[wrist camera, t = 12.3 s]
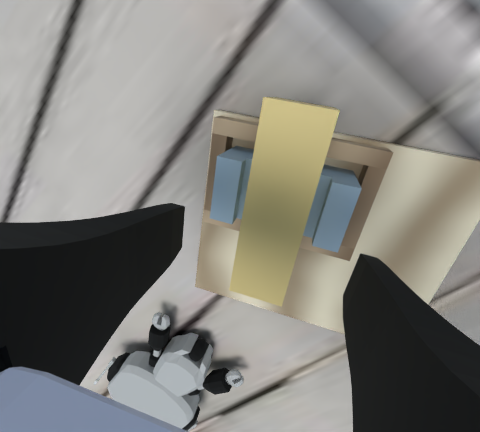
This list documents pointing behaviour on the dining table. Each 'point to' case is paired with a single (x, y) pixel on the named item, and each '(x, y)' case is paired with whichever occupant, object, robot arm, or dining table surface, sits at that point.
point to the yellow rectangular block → (280, 194)
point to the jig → (356, 222)
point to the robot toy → (168, 376)
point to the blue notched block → (322, 210)
